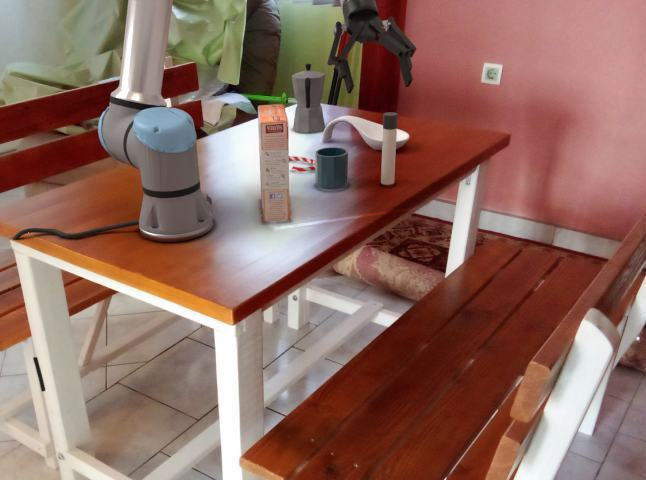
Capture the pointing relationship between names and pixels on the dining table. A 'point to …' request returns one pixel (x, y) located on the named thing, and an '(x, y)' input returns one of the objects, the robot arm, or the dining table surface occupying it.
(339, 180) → the pen holder
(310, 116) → the coffeepot
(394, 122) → the marker
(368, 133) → the spoon rest
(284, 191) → the cracker box
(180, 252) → the dining table surface
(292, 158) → the candy cane
